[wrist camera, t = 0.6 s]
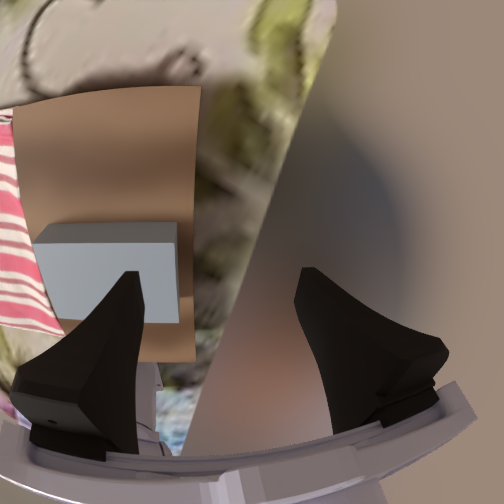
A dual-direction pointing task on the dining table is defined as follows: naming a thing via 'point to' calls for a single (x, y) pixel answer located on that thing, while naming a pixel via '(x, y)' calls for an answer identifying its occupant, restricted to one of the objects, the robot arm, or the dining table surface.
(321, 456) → the robot arm
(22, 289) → the dish towel
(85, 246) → the blue-grey tile
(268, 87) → the dining table surface
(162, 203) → the board
